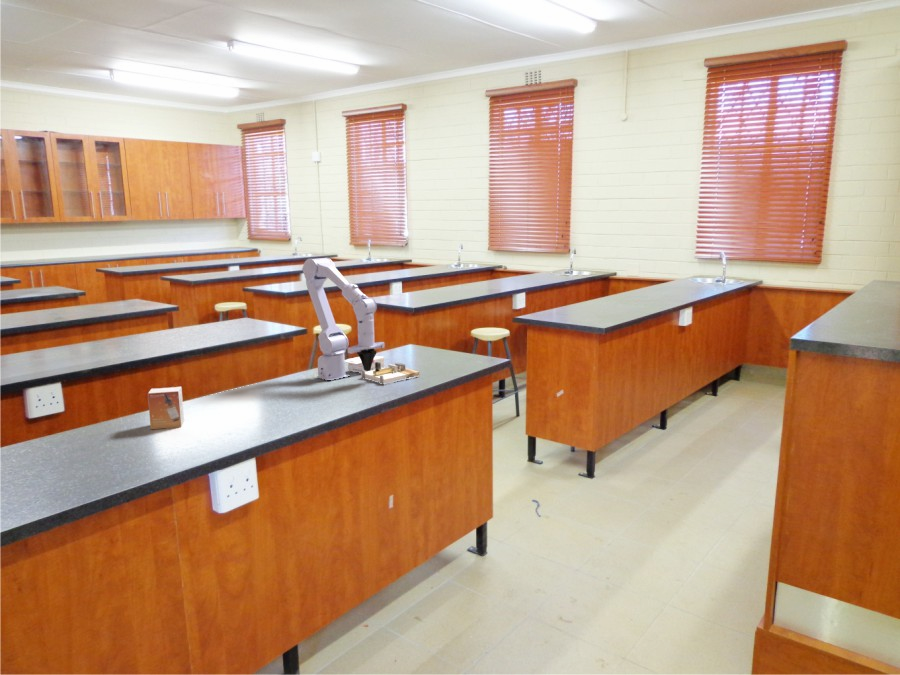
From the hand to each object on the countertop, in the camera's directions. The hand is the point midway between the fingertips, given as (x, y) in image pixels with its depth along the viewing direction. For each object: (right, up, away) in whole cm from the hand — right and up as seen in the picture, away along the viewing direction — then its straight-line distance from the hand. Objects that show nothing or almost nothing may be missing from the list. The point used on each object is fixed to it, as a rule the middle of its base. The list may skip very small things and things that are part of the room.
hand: (367, 370), depth 213 cm
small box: (-50, -13, -44) cm, 68 cm away
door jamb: (+11, -2, +11) cm, 16 cm away
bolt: (+5, -1, +5) cm, 8 cm away
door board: (+5, -3, +6) cm, 8 cm away
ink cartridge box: (+1, +2, +24) cm, 24 cm away
